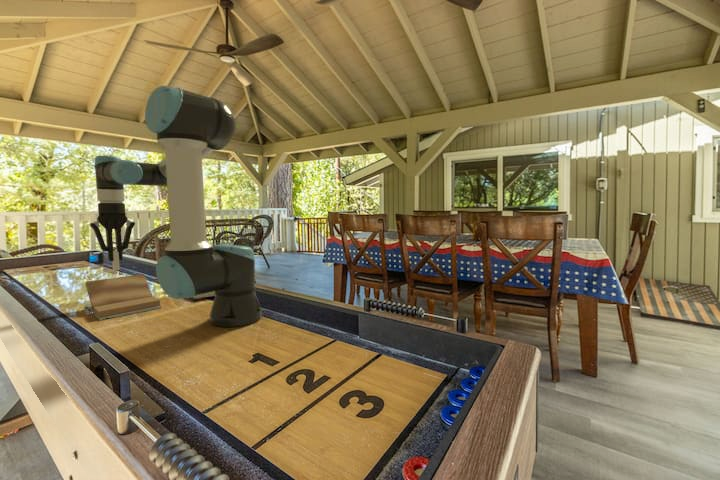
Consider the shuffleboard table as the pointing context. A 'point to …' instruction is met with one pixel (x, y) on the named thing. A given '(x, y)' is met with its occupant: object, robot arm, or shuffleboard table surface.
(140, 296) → the wavy wooden board
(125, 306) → the wooden card stand
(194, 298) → the stone slab
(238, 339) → the shuffleboard table surface
